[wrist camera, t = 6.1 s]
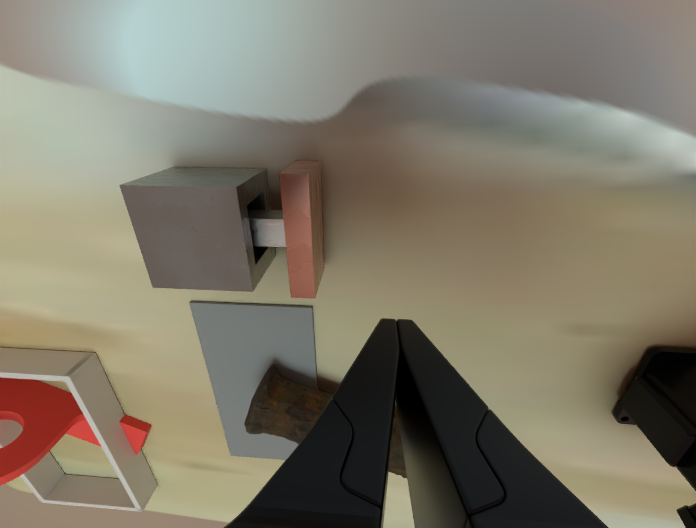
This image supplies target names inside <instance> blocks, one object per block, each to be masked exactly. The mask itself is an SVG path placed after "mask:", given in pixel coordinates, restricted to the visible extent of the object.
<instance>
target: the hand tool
mask: <svg viewBox="0 0 696 528" xmlns="http://www.w3.org/2000/svg"><path fill="white" fill-rule="evenodd" d="M332 396H333V395H332V394H330V393H327V392H323V391H320V390H317V389H315V388H312V387H309V386H307V385H304V384H301V383H297V382H293V381H291V380H288V379H286V378H284V377H281V376H280V375H279V374H278V372H277V369H276V366H275V365H271V366H270V367H269V369H268V371H267V372H266V374H265V375H264V377H263V378H262V380H261V382H260V384H259V386H258V387H257V389H256V391H255V394H254V396H253V398H252V400H251V404H250V407H249V410H248V414H247V417H246V420H245V422H244V426H245V428H246V432H248V433H249V434H261V433H265V434H269V435H275V436H279V437H284V438H286V439H288V440H290V441H293V442H296V443H297V444H299V443H300V442H301V441H302V440H303V438H304V437H305V436H306V434H307V433H308V432H309V431H310V429H311V428H312V426H313V425H314V424H315V422H316V421H317V419H318V418H319V416H320V415H321V413H322V412H323V410H324V409H325V407H326V405H327V404H328V402H329V401H330V400H331V398H332ZM389 472H392V473H395V474H396V475H401V476H402V477H404V478H407V473H406V466H405V460H404V453H403V446H402V440H401V433H400V427H399V420H398V418H397V417H394V422H393V431H392V441H391V451H390V461H389Z"/></svg>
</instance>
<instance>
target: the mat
mask: <svg viewBox="0 0 696 528" xmlns="http://www.w3.org/2000/svg"><path fill="white" fill-rule="evenodd" d="M190 307H191V311H192V314H193V318H194V322H195V325H196V329H197V333H198V337H199V340H200V344H201V348H202V351H203V355H204V359H205V362H206V366H207V370H208V373H209V377H210V381H211V384H212V388H213V392H214V395H215V399H216V403H217V407H218V410H219V414H220V418H221V421H222V425H223V429H224V432H225V436H226V440H227V443H228V447H229V451H230V454H231V456H241V457H254V458H267V459H280V460H286V459H287V458H288V457H289V456H290V455H291V453H292V452H293V451H294V450H295V448H296V447H297V446H298V445H299V444H297V443H296V442H293V441H290V440H288V439H286V438H284V437H279V436H275V435H269V434H265V433H261V434H249V433H248V432H246V428H245V426H244V422H245V420H246V417H247V414H248V410H249V407H250V404H251V400H252V398H253V396H254V394H255V391H256V389H257V387H258V386H259V384H260V382H261V380H262V378H263V377H264V375H265V374H266V372H267V371H268V369H269V367H270V366H271V365H275V366H276V369H277V372H278V374H279V375H280V376H281V377H284V378H286V379H288V380H291V381H293V382H297V383H301V384H304V385H307V386H309V387H312V388H315V389H317V390H318V387H317V371H316V355H315V339H314V322H313V306H294V305H271V304H248V303H225V302H202V301H190Z"/></svg>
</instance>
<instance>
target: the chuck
mask: <svg viewBox="0 0 696 528" xmlns="http://www.w3.org/2000/svg"><path fill="white" fill-rule="evenodd" d="M120 188H121V191H122V194H123V197H124V200H125V203H126V206H127V210H128V213H129V216H130V219H131V222H132V225H133V228H134V231H135V234H136V237H137V240H138V243H139V246H140V249H141V253H142V256H143V259H144V262H145V265H146V268H147V271H148V274H149V277H150V280H151V283H152V286H153V288H175V289H200V290H224V291H249V292H253V291H254V289H255V287H256V286H257V284H258V283H259V281H260V280H261V278H262V276H263V275H264V273H265V272H266V270H267V269H268V267H269V265H270V264H271V262H272V261H273V259H274V258H275V256H276V253H275V247H267V246H253V245H252V238H251V232H250V225H249V218H248V211H247V209H253V210H271V209H270V201H269V192H268V183H267V175H266V168H200V167H172V168H169V169H166V170H163V171H160V172H157V173H154V174H151V175H148V176H145V177H142V178H139V179H136V180H133V181H130V182H128V183H125V184H122V185H120Z"/></svg>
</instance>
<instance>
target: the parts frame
mask: <svg viewBox="0 0 696 528" xmlns="http://www.w3.org/2000/svg"><path fill="white" fill-rule="evenodd" d="M0 377H2V378H18V379H34V380H50V381H65V382H66V384H67V386H68V387H69V389H70V391H71V393H72V395H73V396H74V398H75V400H76V402H77V404H78V405H79V407H80V409H81V411H82V412H83V414H84V416H85V418H86V420H87V421H88V423H89V425H90V427H91V429H92V430H93V432H94V434H95V436H96V438H97V439H98V441H99V443H100V445H101V447H102V448H103V450H104V452H105V454H106V456H107V457H108V459H109V461H110V463H111V465H112V466H113V468H114V470H115V472H116V473H117V475H118V477H119V479H115V478H103V477H91V476H79V475H67V474H64V472H63V471H62V469H61V468H60V466H59V465H58V463H57V462H56V460H55V459H54V457H53V456H52V455H51V453H50V452H48V453H47V454H46V455H45V456H44V457H43V458H42V459H41V460H40V461H39V462H38V463H37V464H36V465H35V466H33V467H32V468H31V469H29V470H28V471H27V472H25V473H24V474H22V475H20V476H21V478H22V479H23V480H24V481H25V483H26V484H27V485H28V486H29V488H30V489H31V490H32V491H33V493H34V494H35V495H36V496H37V498H38V499H39V500H40V501H41V502H42V503H53V504H64V505H65V504H66V505H75V506H88V507H97V508H108V509H120V510H131V511H143V510H144V508H145V507H146V505H147V503H148V501H149V500H150V498H151V496H152V494H153V492H154V491H155V489H156V487H157V485H158V484H157V482H156V480H155V478H154V476H153V474H152V472H151V470H150V467H149V465H148V463H147V461H146V459H145V457H144V455H143V453H142V451H141V450H140V451H139V453H138V454H137V455H136V454H135V452H134V450H133V448H132V446H131V444H130V442H129V440H128V438H127V436H126V434H125V432H124V430H123V428H122V426H121V424H120V422H119V421H120V420H121V419H122V418H123V416H124V415H125V414H124V412H123V410H122V408H121V406H120V404H119V402H118V400H117V397H116V395H115V393H114V391H113V389H112V387H111V385H110V383H109V381H108V378H107V376H106V374H105V372H104V370H103V368H102V366H101V364H100V361H99V359H98V357H97V355H96V353H91V352H73V351H55V350H37V349H20V348H2V347H0ZM22 430H23V428H22V426H21V425H20V424H19V423H18V422H15V421H12V420H0V448H3V447H5V446H7V445H8V444H10V443H11V442H13V441H14V440H15V439H16V438H17V437H18V436H19V435H20V434H21V432H22Z"/></svg>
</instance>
